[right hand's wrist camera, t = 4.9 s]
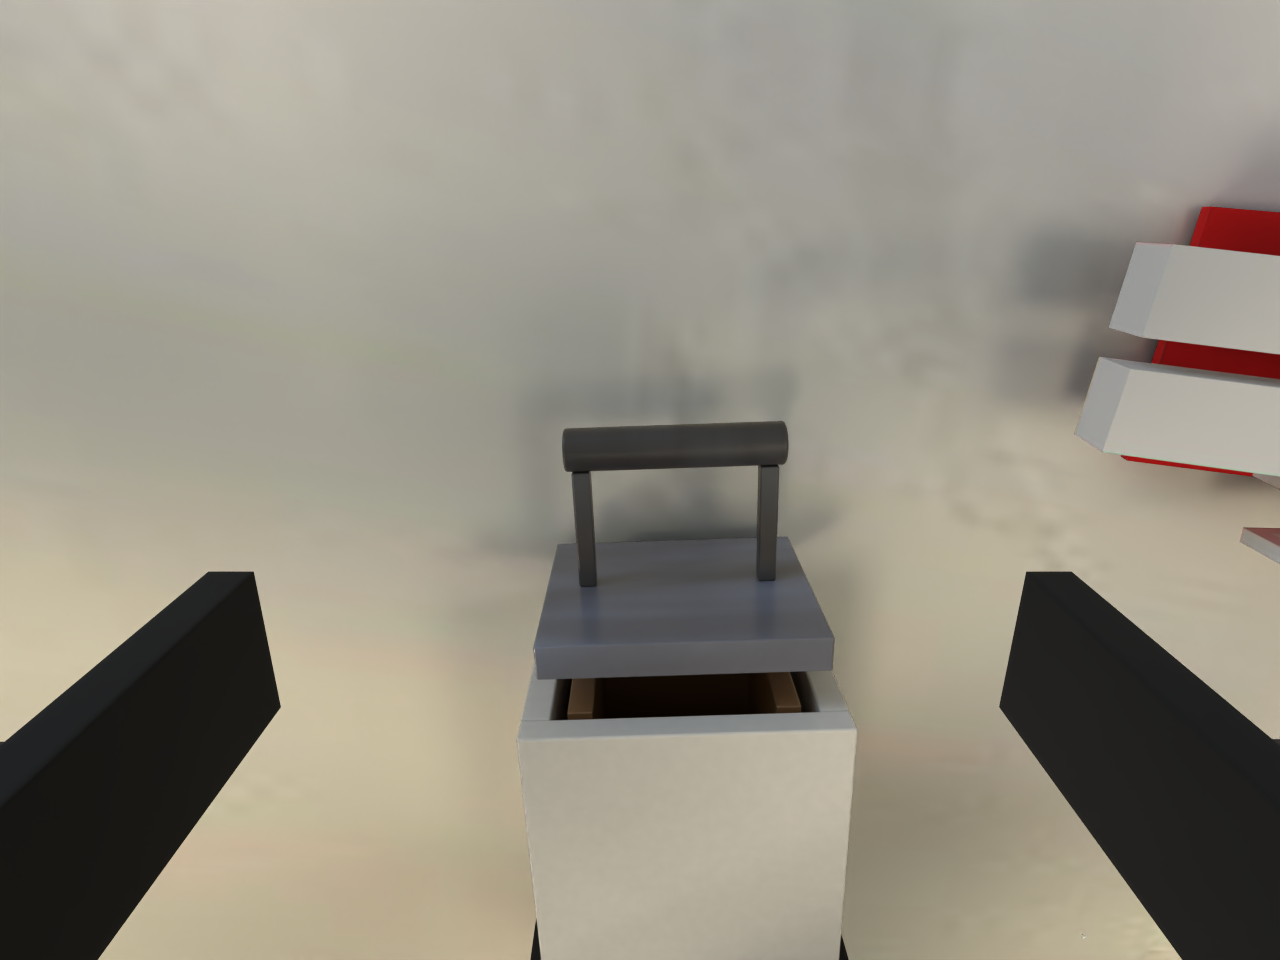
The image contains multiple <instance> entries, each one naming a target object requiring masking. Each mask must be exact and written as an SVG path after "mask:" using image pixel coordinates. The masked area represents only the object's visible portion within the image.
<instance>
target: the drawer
mask: <svg viewBox="0 0 1280 960" xmlns="http://www.w3.org/2000/svg"><path fill="white" fill-rule="evenodd" d="M562 452H563V464H564V468H565V471H567V472H572V487H573V501H574V516H575V530H576V544H558V546H557V550H556V554H555V558H554V562H553V567H552V571H551V575H550V579H549V584H548V588H547V592H546V596H545V600H544V605H543V609H542V613H541V617H540V622H539V626H538V630H537V634H536V638H535V643H534V647H533V650H534V660H535V670H536V678H537V680H548V679H572V684H571V692H570V699H569V706H568V713H567V714H568V720H583V719H615V718H647V717H679V716H711V715H743V714H775V713H801V704H800V701H799V698H798V695H797V692H796V689H795V686H794V683H793V680H792V677H791V674H790V672H801V671H831V670H832V669H833V654H834V639H835V638H834V636H833V633H832V631H831V629H830V627H829V625H828V623H827V621H826V618H825V616H824V614H823V612H822V610H821V608H820V606H819V603H818V601H817V599H816V597H815V595H814V593H813V590H812V588H811V586H810V584H809V582H808V580H807V578H806V575H805V573H804V571H803V569H802V567H801V565H800V562H799V560H798V558H797V556H796V554H795V552H794V550H793V547H792V545H791V543H790V541H789V539H788V537H777V519H778V488H779V466H778V465H783V464H785V463H786V461H787V457H788V432H787V427H786V425H785V423H784V422H783V421H770V422H741V423H712V424H683V425H654V426H625V427H595V428H566V429H564V431H563V437H562ZM756 465H758V507H757V538H732V539H701V540H671V541H641V542H611V543H595V532H594V516H593V499H592V483H591V471H608V470H638V469H667V468H697V467H726V466H756Z"/></svg>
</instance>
